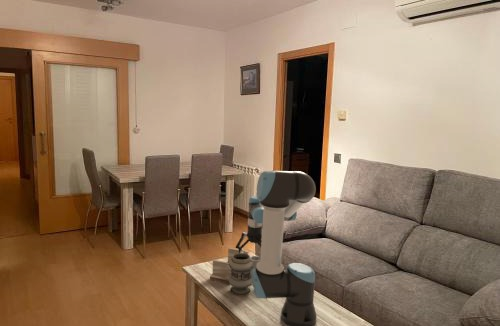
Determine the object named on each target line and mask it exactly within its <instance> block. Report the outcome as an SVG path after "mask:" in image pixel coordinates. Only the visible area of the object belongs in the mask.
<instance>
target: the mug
mask: <svg viewBox="0 0 500 326" xmlns="http://www.w3.org/2000/svg"><path fill="white" fill-rule="evenodd" d="M260 258H261V256H259V255H253V256H250V259H251V260H252V262H253V267H252V268H251V276H252V270H253V269H256V265H257V263H258V262H260Z"/></svg>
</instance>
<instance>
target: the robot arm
mask: <svg viewBox="0 0 500 326" xmlns="http://www.w3.org/2000/svg"><path fill="white" fill-rule="evenodd" d="M257 179H258V180H257V184H256V195H252V196H249V198H248V216H247V232H246V231H243V232H242V233H241V235H240V237H239V240H238V241H237V243H236V245H235V249H239V253H243V250H245V249H244V247H245V246H246V245H247V244H248V243H249V242H250V243H251V244H252V243H254V244H257V245H258V246H259V247H260V257H261V258H260V262H258V263H257V265H256V269H253V270H252V282H253V283H252V288H253V292H254V296H255V297H256V298H257V299H266V300H267V299H277V298H278V299H280V298H282V299H283V298H285V301H284V304H283V305H282V308H281V311H280V312H281V313H280V319H281V320H282V322H283V323H285V324H286V325H288V326H314V325H315V324H316V322H317V312H316V309H315V305H314V304H315V303H314V297H315V296H314V295H315V287H316V286H315V285H316V272H315V271H314V269H313V268H312V267H310V266H309V265H307V264H304V263H299V262H292V263H289V264H288V265H287V267H286V268H285V267H284V264H282V254H283V241H284V227H285V222H291V221H295V220H296V219H297V214H298V213H297V211H299V209H300V208H302V206H303V205H305V204H307V203H309V202H311V200H312V199H313V198H314V197H315V195H316V193H317V192H316V190H317V188H316V183H315V181H314V180H313V178H312V176H310V175H308V173H305V172H303V171H299V170H298V171H297V170H294V171H293V170H292V171H291V170H290V171H288V170H265V171H262V172H261V173H260V174H259V177H258V178H257ZM245 238H247V240H245V241H244V243H243V240H244V239H245ZM242 243H243V244H242ZM241 244H242V245H241Z"/></svg>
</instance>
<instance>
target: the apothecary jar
mask: <svg viewBox="0 0 500 326" xmlns="http://www.w3.org/2000/svg"><path fill="white" fill-rule="evenodd" d="M250 257H251V256H250V255H249V253H248V254H245V253H237V254H234V255H233V258H232V259H231V260H230V262H229V266H230V268H231V275H230V277H229V283H230V284H229V285H230V286H231V288H230V289H229V290H230V293H232V295H234V296H239V297H243V296H247V295H249V294H250V293H251V288H250V286H252V285H253V282H252V276H251V268H252V267H253V262H252V260H251V259H250Z"/></svg>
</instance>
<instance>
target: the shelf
mask: <svg viewBox="0 0 500 326" xmlns="http://www.w3.org/2000/svg"><path fill="white" fill-rule="evenodd" d="M237 253H239V249H237V248H235V247H228V249H227V261H224V260H223V261H222V260H218V259H212V274H210V276H209V280H210V281H215V282H218V283H224V284H227V285H230V283H229V277H230V275H231V268H230V266H229V262H230V260H231V259H232V258H233V255H234V254H237ZM243 253H245V254H248V255H249V250H245V249H244V250H243Z"/></svg>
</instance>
